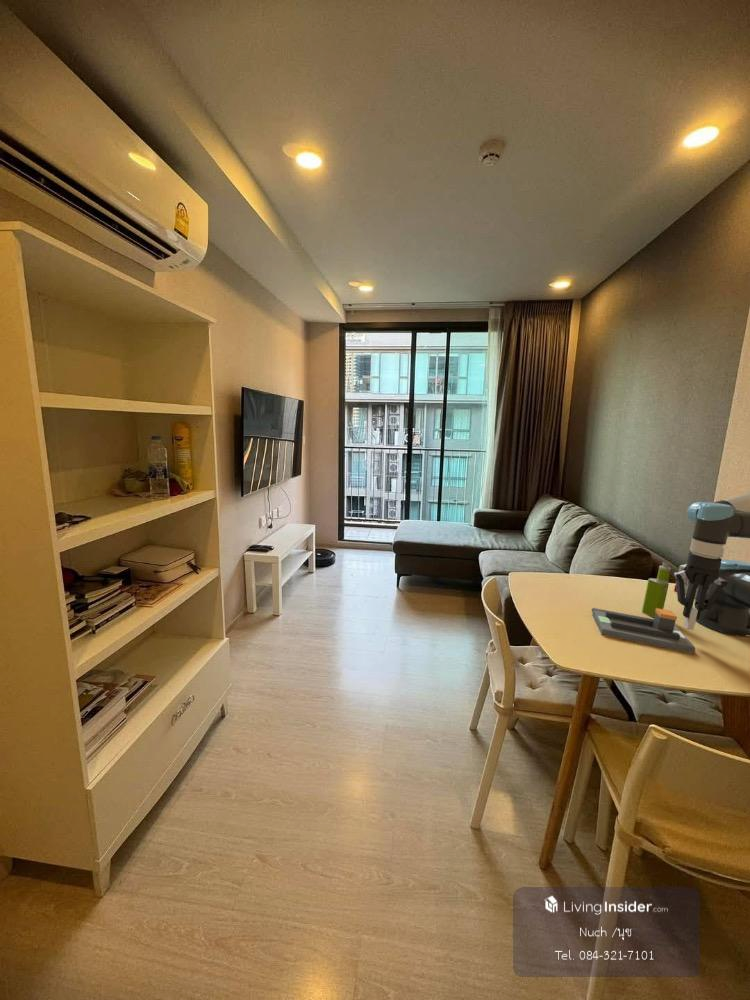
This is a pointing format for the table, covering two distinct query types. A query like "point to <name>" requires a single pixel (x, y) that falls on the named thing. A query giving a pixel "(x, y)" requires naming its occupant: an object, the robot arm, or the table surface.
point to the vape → (656, 591)
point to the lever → (664, 620)
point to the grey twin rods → (615, 612)
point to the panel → (641, 636)
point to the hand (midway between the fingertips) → (688, 627)
